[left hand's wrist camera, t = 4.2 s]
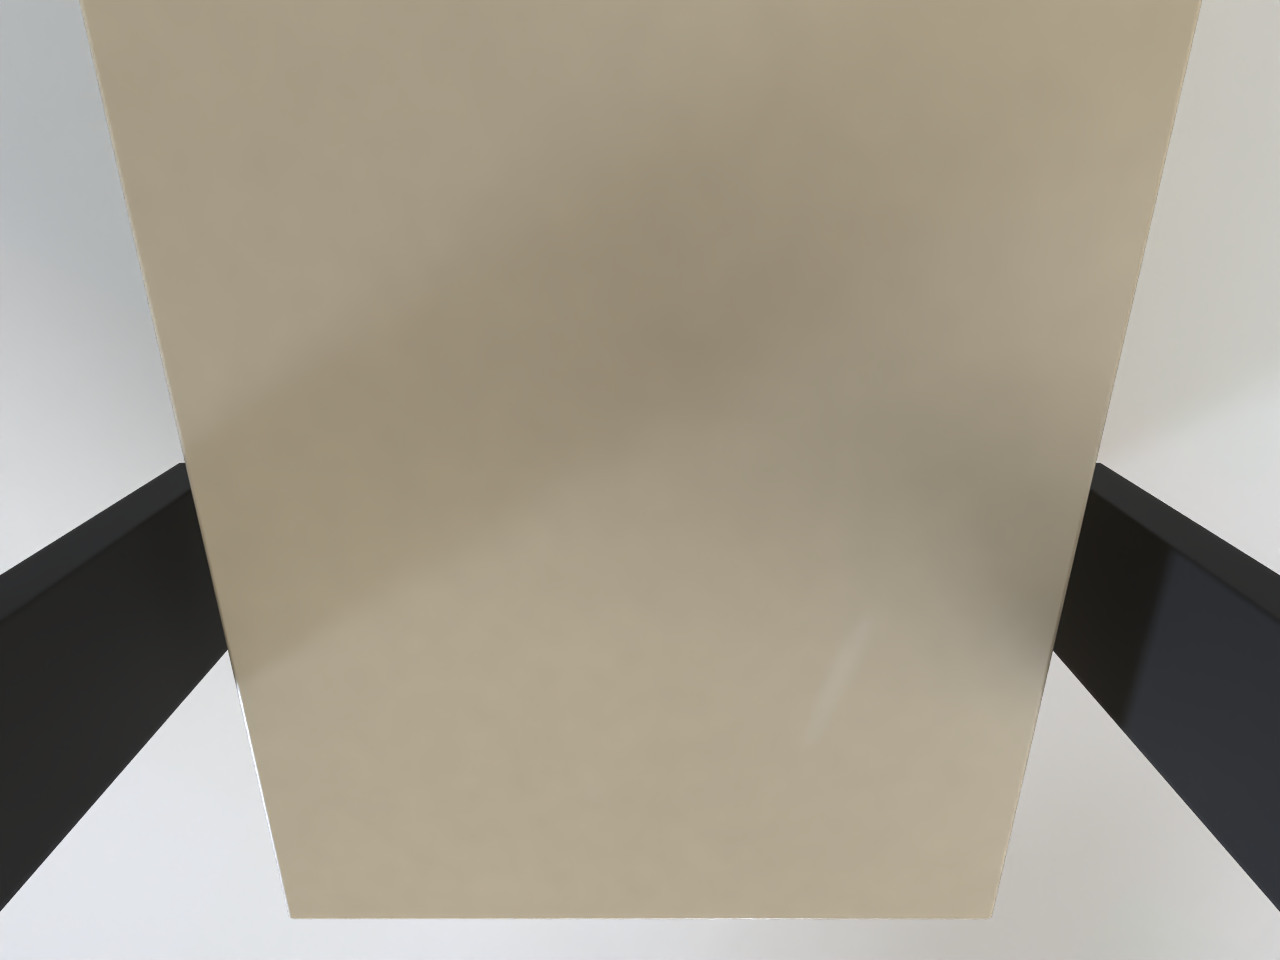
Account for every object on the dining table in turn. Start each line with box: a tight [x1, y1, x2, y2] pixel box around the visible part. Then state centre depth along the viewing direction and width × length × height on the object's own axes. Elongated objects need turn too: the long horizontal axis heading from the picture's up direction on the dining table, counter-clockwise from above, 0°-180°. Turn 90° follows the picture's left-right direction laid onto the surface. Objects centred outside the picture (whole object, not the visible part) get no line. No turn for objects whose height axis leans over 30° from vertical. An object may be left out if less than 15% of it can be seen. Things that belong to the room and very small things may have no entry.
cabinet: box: [79, 0, 1202, 919], centre depth 12 cm, size 18×10×9 cm, turn 0°
